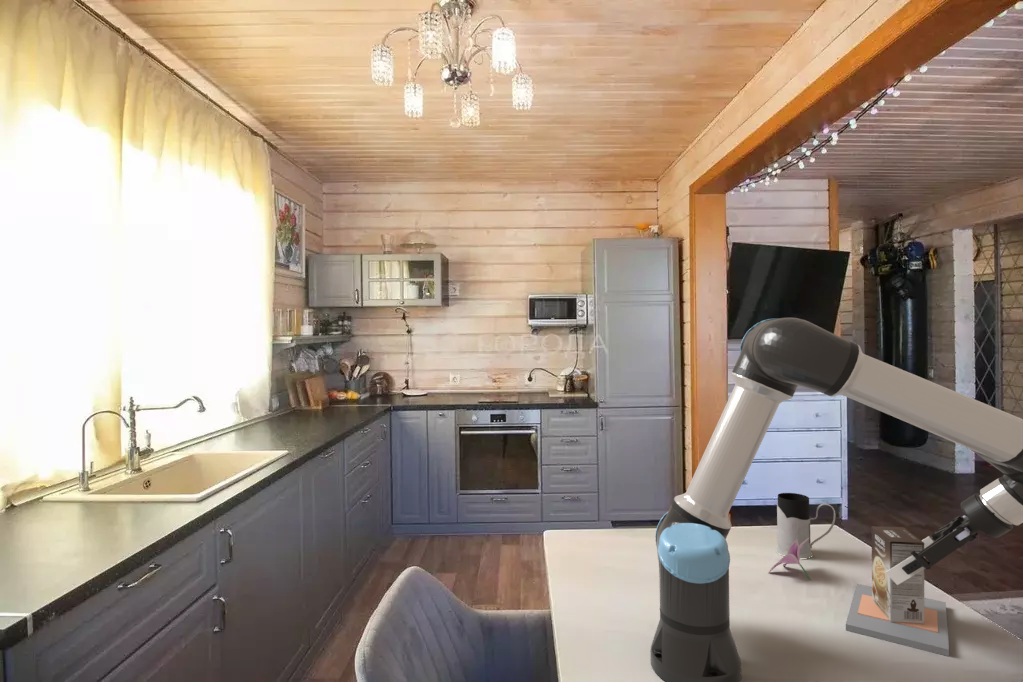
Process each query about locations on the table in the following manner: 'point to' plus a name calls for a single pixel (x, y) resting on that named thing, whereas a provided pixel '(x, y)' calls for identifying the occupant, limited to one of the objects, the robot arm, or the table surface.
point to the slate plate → (899, 623)
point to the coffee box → (886, 594)
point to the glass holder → (795, 523)
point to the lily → (792, 555)
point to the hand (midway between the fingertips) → (900, 568)
